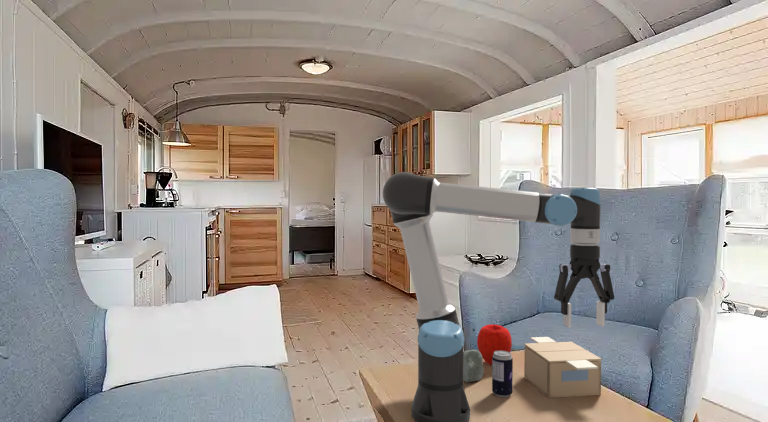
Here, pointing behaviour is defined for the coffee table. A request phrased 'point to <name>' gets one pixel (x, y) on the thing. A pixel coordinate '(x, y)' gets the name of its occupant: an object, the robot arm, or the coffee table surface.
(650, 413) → the coffee table surface
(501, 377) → the beverage can
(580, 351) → the near flap
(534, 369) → the carton
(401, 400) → the coffee table surface
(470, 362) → the decorative stone
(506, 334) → the apple
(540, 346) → the far flap
